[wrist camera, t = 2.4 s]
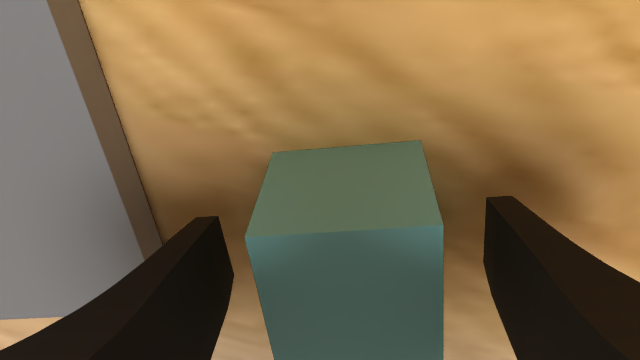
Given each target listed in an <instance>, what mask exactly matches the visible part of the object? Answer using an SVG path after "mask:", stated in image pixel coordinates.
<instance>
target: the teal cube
mask: <svg viewBox="0 0 640 360" xmlns="http://www.w3.org/2000/svg"><path fill="white" fill-rule="evenodd" d="M244 238H245V242H246V246H247V250H248V254H249V258H250V262H251V267H252V271H253V275H254V279H255V283H256V287H257V291H258V295H259V299H260V303H261V308H262V312H263V316H264V320H265V324H266V328H267V332H268V336H269V340H270V344H271V349H272V353H273V357H274V360H443V222H442V218H441V214H440V210H439V207H438V203H437V199H436V196H435V192H434V188H433V184H432V181H431V177H430V173H429V170H428V166H427V162H426V158H425V155H424V151H423V147H422V144H421V140H418V141H406V142H394V143H381V144H369V145H357V146H345V147H333V148H321V149H308V150H296V151H284V152H273V154H272V157H271V160H270V163H269V166H268V169H267V172H266V175H265V178H264V181H263V184H262V187H261V190H260V193H259V196H258V199H257V202H256V205H255V207H254V210H253V213H252V216H251V219H250V222H249V225H248V228H247V231H246V234H245V237H244Z"/></svg>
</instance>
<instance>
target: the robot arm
mask: <svg viewBox="0 0 640 360" xmlns="http://www.w3.org/2000/svg"><path fill="white" fill-rule="evenodd" d="M483 263H484V267H485V271H486V275H487V279H488V283H489V287H490V291H491V294H492V297H493V300H494V303H495V305H496V308H497V310H498V313H499V315H500V318H501V320H502V323H503V325H504V328H505V330H506V333H507V335H508V338H509V340H510V343H511V345H512V348H513V350H514V352H515V355H516V357H517V360H640V282H638V281H636V280H634V279H633V278H631V277H629V276H627V275H625V274H623V273H622V272H620V271H618V270H616V269H614V268H613V267H611V266H609V265H607V264H606V263H604V262H602V261H601V260H599V259H598V258H596V257H595V256H593V255H592V254H590V253H588V252H587V251H585V250H584V249H582V248H581V247H579V246H578V245H576V244H575V243H573V242H572V241H571V240H569V239H568V238H566V237H565V236H564V235H562V234H561V233H559V232H558V231H557V230H555V229H554V228H553V227H551V226H550V225H549V224H547V223H546V222H545V221H543V220H542V219H541V218H540V217H538V216H537V215H536V214H534V213H533V212H532V211H531V210H529V209H528V208H527V207H526V206H524V205H523V204H522V203H521V202H519V201H518V200H517V199H515V198H514V197H513V196H502V197H487V198H486V217H485V237H484V257H483ZM233 278H234V273H233V269H232V265H231V262H230V258H229V254H228V251H227V247H226V243H225V239H224V236H223V232H222V228H221V225H220V221H219V217H218V216H210V217H196V218H195V219H194V220H192V221H191V222H190V223H189V224H187V225H186V226H185V227H184V228H182V229H181V230H180V231H179V232H178V233H177V234H175V235H174V236H173V237H172V238H171V239H170V240H169V241H167V242H166V243H165V244H164V245H163V246H162V247H160V248H159V249H158V250H157V251H156V252H155V253H153V254H152V255H151V256H150V257H149V258H147V259H146V260H145V261H144V262H143V263H141V264H140V265H139V266H137V267H136V268H135V269H134V270H132V271H131V272H130V273H129V274H127V275H126V276H125V277H123V278H122V279H121V280H120V281H118V282H117V283H116V284H114V285H113V286H112V287H110V288H109V289H107V290H106V291H105V292H103V293H102V294H100V295H99V296H97V297H96V298H94V299H93V300H91V301H90V302H88V303H87V304H85V305H84V306H82V307H80V308H79V309H77V310H76V311H74V312H72V313H71V314H69V315H67V316H65V317H64V318H62V319H60V320H58V321H56V322H55V323H53V324H51V325H49V326H48V327H46V328H44V329H42V330H41V331H39V332H37V333H35V334H33V335H31V336H29V337H27V338H25V339H23V340H21V341H19V342H17V343H15V344H13V345H11V346H9V347H7V348H5V349H3V350H0V360H211V357H212V354H213V351H214V348H215V345H216V342H217V339H218V337H219V334H220V331H221V328H222V325H223V322H224V319H225V316H226V312H227V309H228V305H229V300H230V295H231V290H232V284H233Z"/></svg>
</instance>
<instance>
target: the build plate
mask: <svg viewBox="0 0 640 360" xmlns="http://www.w3.org/2000/svg"><path fill="white" fill-rule="evenodd" d="M162 246H163V245H162V242H161V239H160V236H159V233H158V230H157V228H156V225H155V222H154V219H153V216H152V213H151V210H150V207H149V205H148V202H147V199H146V196H145V193H144V190H143V187H142V184H141V182H140V179H139V176H138V173H137V170H136V167H135V164H134V161H133V159H132V156H131V153H130V150H129V147H128V144H127V141H126V138H125V136H124V133H123V130H122V127H121V124H120V121H119V118H118V115H117V113H116V110H115V107H114V104H113V101H112V98H111V95H110V92H109V90H108V87H107V84H106V81H105V78H104V75H103V72H102V69H101V67H100V64H99V61H98V58H97V55H96V52H95V49H94V46H93V44H92V41H91V38H90V35H89V32H88V29H87V26H86V23H85V21H84V18H83V15H82V12H81V9H80V6H79V3H78V0H0V320H5V319H27V318H49V317H65V316H67V315H69V314H71V313H72V312H74V311H76V310H77V309H79V308H80V307H82V306H84V305H85V304H87V303H88V302H90V301H91V300H93V299H94V298H96V297H97V296H99V295H100V294H102V293H103V292H105V291H106V290H107V289H109V288H110V287H112V286H113V285H114V284H116V283H117V282H118V281H120V280H121V279H122V278H123V277H125V276H126V275H127V274H129V273H130V272H131V271H132V270H134V269H135V268H136V267H137V266H139V265H140V264H141V263H143V262H144V261H145V260H146V259H147V258H149V257H150V256H151V255H152V254H153V253H155V252H156V251H157V250H158V249H159V248H160V247H162Z"/></svg>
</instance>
